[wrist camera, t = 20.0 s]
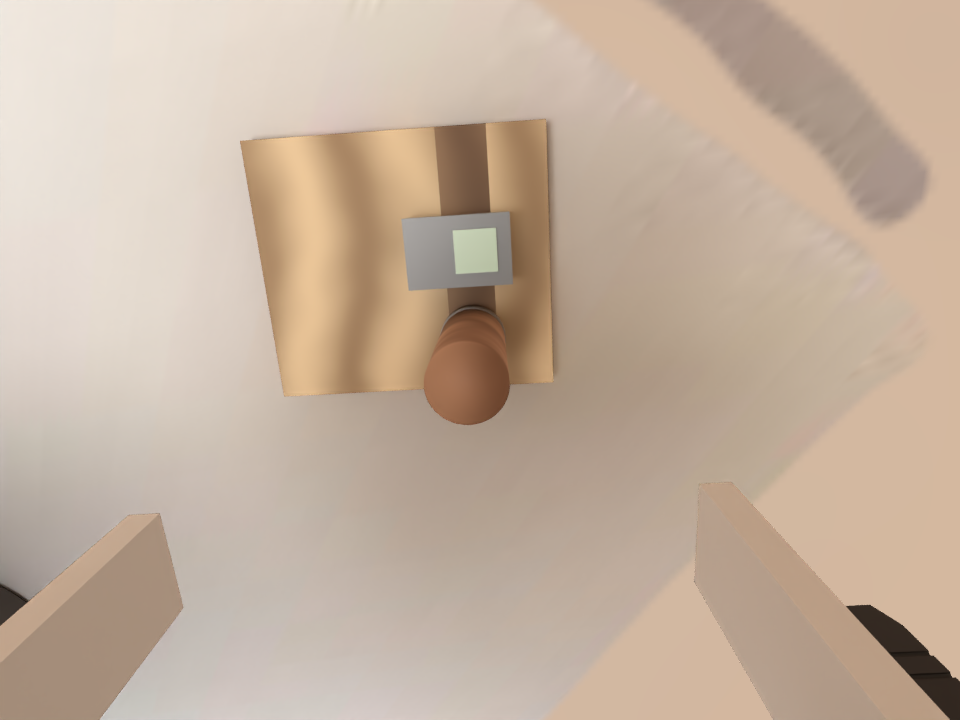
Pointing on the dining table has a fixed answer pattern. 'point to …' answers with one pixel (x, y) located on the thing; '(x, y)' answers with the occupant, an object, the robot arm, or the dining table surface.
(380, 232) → the board
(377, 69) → the dining table surface
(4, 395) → the dining table surface
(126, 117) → the dining table surface
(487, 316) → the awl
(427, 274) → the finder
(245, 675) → the dining table surface
